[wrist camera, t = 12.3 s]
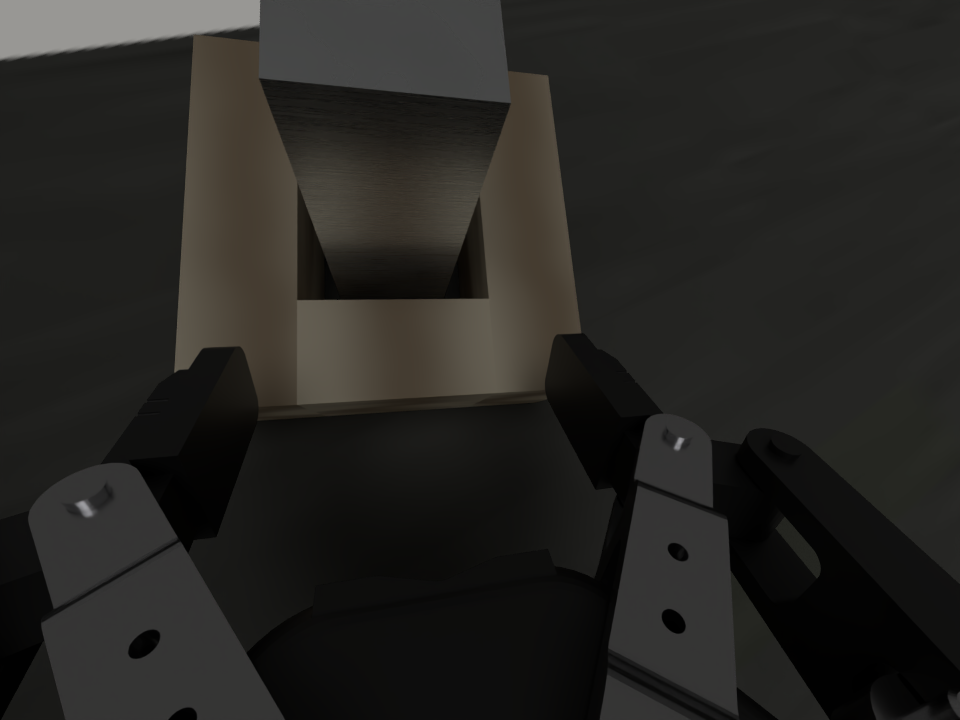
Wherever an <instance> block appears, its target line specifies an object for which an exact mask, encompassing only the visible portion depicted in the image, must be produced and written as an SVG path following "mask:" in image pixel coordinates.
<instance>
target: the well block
mask: <svg viewBox="0 0 960 720" xmlns="http://www.w3.org/2000/svg"><path fill="white" fill-rule="evenodd" d="M508 79H509V88H510V97H511V105H510V108H509V111H508V114H507V117H506V119H505V122H504V125H503V128H502V131H501V134H500V137H499V140H498V143H497V146H496V148H495V151H494V154H493V157H492V160H491V163H490V166H489V169H488V172H487V175H486V177H485V180H484V183H483V186H482V189H481V192H480V195H479V198H478V201H477V204H476V206H475V209H474V212H473V215H472V218H471V221H470V224H469V227H468V230H467V233H466V235H465V238H464V241H463V244H462V247H461V250H460V253H459V256H458V259H457V261H458V275H459V288H460V299H392V300H325V268H324V252H323V250H322V247H321V244H320V242H319V239H318V236H317V234H316V231H315V228H314V226H313V223H312V220H311V217H310V215H309V212H308V209H307V207H306V204H305V201H304V199H303V196H302V193H301V191H300V188H299V185H298V183H297V180H296V177H295V174H294V172H293V169H292V166H291V164H290V161H289V158H288V156H287V153H286V150H285V148H284V145H283V142H282V139H281V137H280V134H279V131H278V129H277V126H276V123H275V121H274V118H273V115H272V113H271V110H270V107H269V105H268V102H267V99H266V96H265V94H264V91H263V88H262V86H261V83H260V80H259V42H253V41H245V40H236V39H227V38H219V37H210V36H202V35H194V42H193V59H192V77H191V94H190V111H189V129H188V146H187V163H186V181H185V198H184V216H183V233H182V250H181V268H180V285H179V302H178V320H177V337H176V354H175V372H176V371H178V370H184V369H189V368H190V366H191V364H192V363H193V361H194V360H195V358H196V357H197V355H198V354H199V352H200V351H201V350H202V349H203V348H208V347H233V346H240V347H241V348H242V349H243V351H244V353H245V356H246V359H247V363H248V366H249V370H250V373H251V377H252V380H253V384H254V387H255V390H256V394H257V398H258V406H259V412H258V420H257V421H261V420H276V419H292V418H307V417H322V416H337V415H353V414H368V413H383V412H398V411H414V410H429V409H444V408H459V407H475V406H490V405H505V404H520V403H535V402H539V401H543V400H546V399H547V397H546V392H545V378H546V373H547V368H548V363H549V358H550V353H551V348H552V343H553V340H554V337H555V336H556V335H557V334H575V333H581V329H580V321H579V313H578V305H577V298H576V290H575V282H574V274H573V267H572V259H571V251H570V243H569V236H568V228H567V220H566V213H565V205H564V197H563V189H562V182H561V174H560V166H559V158H558V151H557V143H556V135H555V127H554V120H553V112H552V104H551V97H550V89H549V81H548V76H546V75H537V74H529V73H520V72H511V71H508ZM175 372H174V373H175Z"/></svg>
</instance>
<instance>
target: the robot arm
mask: <svg viewBox="0 0 960 720" xmlns="http://www.w3.org/2000/svg"><path fill="white" fill-rule="evenodd" d="M545 392H546V397H547V399H548V402H549V403H550V405H551V407H552V409H553V411H554V413H555V415H556V417H557V418H558V420H559V422H560V424H561V426H562V428H563V430H564V432H565V433H566V435H567V437H568V439H569V441H570V443H571V445H572V446H573V448H574V450H575V452H576V454H577V456H578V458H579V460H580V461H581V463H582V465H583V467H584V469H585V471H586V473H587V475H588V476H589V478H590V480H591V482H592V484H593V486H594V488H595V489H596V490H598V489H605V488H614V490H615V492H616V493H617V495H616V497H615V500H614V503H613V507H612V511H611V515H610V519H609V523H608V528H607V532H606V536H605V540H604V544H603V549H602V553H601V557H600V561H599V565H598V568H597V572H596V575H595V578H592V577H590V576H588V575H585V574H582V573H580V572H577V571H574V570H570V569H566V568H562V567H555V566H554V564H553V562H552V559H551V556H550V553H549V551H548V549H544V550H538V551H531V552H525V553H519V554H513V555H506V556H500V557H495V558H493V559H491V560H488V561H486V562H484V563H482V564H479V565H477V566H475V567H473V568H470V569H468V570H466V571H464V572H462V573H459V574H457V575H455V576H453V577H450V578H448V579H446V580H443V581H427V580H417V579H406V578H396V577H386V576H373V577H367V578H361V579H354V580H348V581H342V582H335V583H329V584H323V585H317V586H316V588H315V596H314V604H313V606H312V607H310V608H308V609H305V610H303V611H301V612H300V613H298V614H296V615H294V616H292V617H291V618H289V619H287V620H286V621H284V622H283V623H281V624H280V625H279V626H277V627H276V628H274V629H273V630H271V631H270V632H269V633H268V634H267V635H265V636H264V637H263V638H262V639H261V640H260V641H258V642H257V643H256V644H255V645H254V646H253V647H252V648H251V649H250V650H249V651H248V652H247V653H246V652H245V650H244V649H243V647H242V645H241V644H240V642H239V640H238V639H237V637H236V635H235V633H234V632H233V630H232V628H231V627H230V625H229V623H228V621H227V620H226V618H225V616H224V615H223V613H222V611H221V610H220V608H219V606H218V604H217V603H216V601H215V599H214V598H213V596H212V594H211V592H210V591H209V589H208V587H207V586H206V584H205V582H204V580H203V579H202V577H201V575H200V574H199V572H198V570H197V569H196V567H195V565H194V563H193V562H192V560H191V558H190V557H189V555H188V552H189V550H190V547H191V545H192V542H193V540H197V539H205V538H213V537H216V536H217V534H218V531H219V528H220V525H221V522H222V519H223V517H224V514H225V511H226V508H227V505H228V503H229V500H230V497H231V494H232V491H233V488H234V486H235V483H236V480H237V477H238V474H239V471H240V469H241V466H242V463H243V460H244V457H245V454H246V452H247V449H248V446H249V443H250V440H251V438H252V435H253V432H254V429H255V426H256V423H257V420H258V412H259V406H258V398H257V394H256V390H255V387H254V384H253V380H252V377H251V373H250V370H249V366H248V363H247V359H246V356H245V353H244V351H243V349H242V348H241V347H240V346H233V347H208V348H203V349H202V350H201V351H200V352H199V354H198V355H197V357H196V358H195V360H194V361H193V363H192V364H191V366H190V368H189V369H184V370H178V371H176V372H175V373H174V374H172V375H171V376H169V377H168V378H166V379H165V380H164V381H162V382H161V383H159V384H158V386H157V387H156V388H155V390H154V391H153V393H152V394H151V395H150V397H149V398H148V399H147V401H148V402H147V403H145V404H144V405H143V406H142V408H141V409H140V410H139V412H138V417H134V419H133V420H132V422H131V423H130V424H129V426H128V427H127V428H126V430H125V431H124V433H123V434H122V435H121V437H120V438H119V440H118V441H117V442H116V444H115V445H114V446H113V448H112V449H111V451H110V452H109V453H108V455H107V456H106V457H105V459H104V460H103V462H102V463H101V464H100V465H97V466H93V467H90V468H86V469H84V470H81V471H78V472H76V473H74V474H72V475H70V476H68V477H66V478H64V479H62V480H61V481H59V482H58V483H56V484H55V485H53V486H52V487H50V488H49V489H48V490H47V491H45V492H44V493H43V494H42V495H41V496H40V497H39V498H38V499H37V500H36V502H35V503H34V504H33V506H32V508H31V510H30V511H28V512H24V513H21V514H18V515H14V516H11V517H8V518H4V519H1V520H0V720H1V718H2V717H3V715H4V713H5V711H6V709H7V707H8V705H9V704H10V702H11V700H12V698H13V696H14V694H15V692H16V691H17V689H18V687H19V685H20V683H21V681H22V679H23V678H24V676H25V674H26V672H27V670H28V668H29V666H30V665H31V663H32V661H33V659H34V657H35V655H36V653H37V651H38V650H39V648H40V646H41V644H42V642H43V641H45V644H46V647H47V651H48V655H49V659H50V663H51V666H52V670H53V674H54V678H55V682H56V685H57V689H58V693H59V697H60V700H61V704H62V708H63V712H64V716H65V719H66V720H778V719H777V718H775V717H774V716H773V715H772V714H770V713H769V712H768V711H766V710H765V709H764V708H763V707H761V706H760V705H759V704H758V703H756V702H755V701H754V700H753V699H751V698H750V697H749V696H747V695H746V694H745V693H744V692H742V691H741V690H740V689H739V688H737V687H736V670H735V651H734V631H733V612H732V593H731V573H730V570H731V572H732V573H733V575H734V576H735V578H736V579H737V581H738V582H739V584H740V585H741V587H742V588H743V590H744V591H745V593H746V594H747V596H748V597H749V599H750V600H751V602H752V603H753V605H754V606H755V608H756V609H757V611H758V612H759V614H760V615H761V617H762V618H763V620H764V621H765V623H766V624H767V626H768V627H769V629H770V630H771V632H772V633H773V635H774V636H775V638H776V639H777V641H778V642H779V644H780V645H781V647H782V648H783V650H784V651H785V653H786V654H787V656H788V657H789V659H790V660H791V662H792V663H793V665H794V666H795V668H796V670H797V671H798V673H799V674H800V676H801V677H802V679H803V680H804V682H805V683H806V685H807V686H808V688H809V689H810V691H811V692H812V694H813V695H814V697H815V698H816V700H817V701H818V703H819V704H820V706H821V707H822V709H823V710H824V712H825V713H826V715H827V716H828V718H829V719H830V720H960V584H959V583H958V582H957V581H956V580H954V579H953V578H952V577H951V576H950V575H949V574H948V573H947V572H946V571H945V570H943V569H942V568H941V567H940V566H939V565H938V564H937V563H936V562H935V561H933V560H932V559H931V558H930V557H929V556H928V555H927V554H926V553H925V552H924V551H922V550H921V549H920V548H919V547H918V546H917V545H916V544H915V543H914V542H913V541H911V540H910V539H909V538H908V537H907V536H906V535H905V534H904V533H903V532H902V531H900V530H899V529H898V528H897V527H896V526H895V525H894V524H893V523H892V522H890V521H889V520H888V519H887V518H886V517H885V516H884V515H883V514H882V513H881V512H879V511H878V510H877V509H876V508H875V507H874V506H873V505H872V504H871V503H870V502H868V501H867V500H866V499H865V498H864V497H863V496H862V495H861V494H860V493H858V492H857V491H856V490H855V489H854V488H853V487H852V486H851V485H850V484H849V483H847V482H846V481H845V480H844V479H843V478H842V477H841V476H840V475H839V474H838V473H836V472H835V471H834V470H833V469H832V468H831V467H830V466H829V465H828V464H827V463H825V462H824V461H823V460H822V459H821V458H820V457H819V456H818V455H817V454H815V453H814V452H813V451H812V450H811V449H810V448H809V447H807V446H806V445H805V444H803V443H802V442H801V441H799V440H797V439H795V438H794V437H792V436H790V435H787V434H785V433H782V432H779V431H776V430H772V429H765V428H759V429H754V430H752V431H750V432H749V433H748V435H747V436H746V438H745V440H744V441H743V443H742V445H741V444H734V443H728V442H721V441H714V440H710V438H709V437H708V435H707V434H706V433H705V432H704V431H703V430H702V429H701V428H700V427H699V426H697V425H696V424H694V423H693V422H691V421H689V420H687V419H685V418H682V417H679V416H675V415H671V414H663V412H662V411H661V410H660V409H659V408H658V407H657V405H656V404H655V403H654V402H653V401H652V400H651V399H650V397H649V396H648V395H647V394H646V393H645V392H644V390H643V389H642V388H641V387H640V386H639V385H638V383H635V380H634V379H633V378H632V376H631V375H630V374H629V373H627V372H626V370H625V368H624V367H623V366H622V365H621V364H620V363H619V361H618V360H617V359H616V358H614V357H612V356H611V355H609V354H608V353H606V352H604V351H603V350H597V348H596V347H595V346H594V345H593V343H592V342H591V341H590V340H589V339H588V337H587V336H586V335H585V334H583V333H575V334H557V335H556V336H555V337H554V340H553V343H552V348H551V353H550V358H549V363H548V368H547V373H546V378H545ZM784 517H786V518H787V519H788V521H789V522H790V523H791V524H792V525H793V526H794V527H795V529H796V530H797V531H798V532H799V533H800V534H801V535H802V537H803V538H804V539H805V540H806V541H807V542H808V544H809V545H810V546H811V547H812V548H813V549H814V551H815V552H816V554H817V556H818V558H819V561H820V565H821V572H820V576H819V577H818V578H817V579H816V577H815V576H814V575H813V574H812V572H811V571H810V570H809V569H808V568H807V566H806V565H805V564H804V563H803V562H802V560H801V559H800V558H799V557H798V556H797V554H796V553H795V552H794V551H793V549H792V548H791V547H790V546H789V545H788V543H787V542H786V541H785V540H784V539H783V537H782V536H781V535H780V534H779V533H778V531H777V530H776V529H775V528H776V527H777V526H778V524H779V523H780V522H781V521H782V519H783V518H784Z"/></svg>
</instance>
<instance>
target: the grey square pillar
mask: <svg viewBox="0 0 960 720" xmlns="http://www.w3.org/2000/svg"><path fill="white" fill-rule="evenodd" d="M259 80H260V83H261V86H262V88H263V91H264V94H265V96H266V99H267V102H268V105H269V107H270V110H271V113H272V115H273V118H274V121H275V123H276V126H277V129H278V131H279V134H280V137H281V139H282V142H283V145H284V148H285V150H286V153H287V156H288V158H289V161H290V164H291V166H292V169H293V172H294V174H295V177H296V180H297V183H298V185H299V188H300V191H301V193H302V196H303V199H304V201H305V204H306V207H307V209H308V212H309V215H310V217H311V220H312V223H313V226H314V228H315V231H316V234H317V236H318V239H319V242H320V244H321V247H322V250H323V252H324V255H325V258H326V261H327V263H328V266H329V269H330V271H331V274H332V277H333V279H334V282H335V285H336V287H337V290H338V293H339V295H340V298H341V300H392V299H444V296H445V293H446V290H447V288H448V285H449V282H450V279H451V276H452V273H453V270H454V267H455V264H456V261H457V259H458V256H459V253H460V250H461V247H462V244H463V241H464V238H465V235H466V233H467V230H468V227H469V224H470V221H471V218H472V215H473V212H474V209H475V206H476V204H477V201H478V198H479V195H480V192H481V189H482V186H483V183H484V180H485V177H486V175H487V172H488V169H489V166H490V163H491V160H492V157H493V154H494V151H495V148H496V146H497V143H498V140H499V137H500V134H501V131H502V128H503V125H504V122H505V119H506V117H507V114H508V111H509V108H510V105H511V97H510V88H509V79H508V69H507V60H506V51H505V41H504V32H503V23H502V14H501V4H500V0H260V41H259Z"/></svg>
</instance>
